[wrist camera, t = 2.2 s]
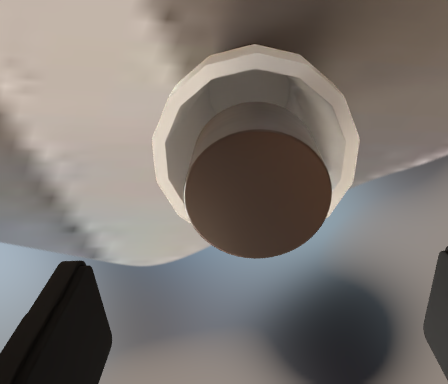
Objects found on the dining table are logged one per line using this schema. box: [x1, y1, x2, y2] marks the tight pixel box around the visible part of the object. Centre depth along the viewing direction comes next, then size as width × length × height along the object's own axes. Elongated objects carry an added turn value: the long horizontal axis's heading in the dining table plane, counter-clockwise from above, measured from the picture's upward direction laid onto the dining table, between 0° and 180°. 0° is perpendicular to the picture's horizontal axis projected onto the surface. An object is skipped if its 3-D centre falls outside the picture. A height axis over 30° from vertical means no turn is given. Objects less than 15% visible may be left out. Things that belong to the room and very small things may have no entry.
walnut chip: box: [184, 101, 332, 258], centre depth 16 cm, size 6×6×4 cm
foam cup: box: [152, 44, 360, 224], centre depth 24 cm, size 10×9×13 cm
